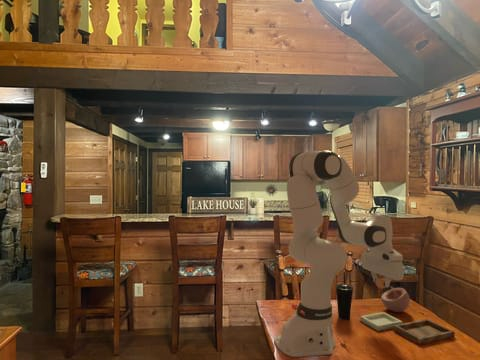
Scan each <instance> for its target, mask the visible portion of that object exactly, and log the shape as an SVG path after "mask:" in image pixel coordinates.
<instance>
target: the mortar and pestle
mask: <svg viewBox="0 0 480 360" xmlns="http://www.w3.org/2000/svg"><path fill="white" fill-rule="evenodd" d="M389 287H390V289H389V290H386V291H385V292H384V293H382V294H381V297H380V299H381V302H382V304H383V306H384V307H385V308H386V309H387V310H389V311H391V312H393V313H402V312H404V311H406V310H407V309H408V307H409V306H410V300H411V299H410V295H409V293H408V292H407V290H406V289H405V288H402V287H393V286H389Z"/></svg>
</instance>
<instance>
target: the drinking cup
mask: <svg viewBox="0 0 480 360" xmlns="http://www.w3.org/2000/svg"><path fill="white" fill-rule="evenodd" d="M335 289H336V305H337V315H338V318H339V319H341V320H343V321H347V320H348V321H349V320H350V319H351V314H352V313H351V311H352V302H353V292H354V286H352V285H350V284H349V283H346V272H345V271H344V272H343V283H338V284H335Z"/></svg>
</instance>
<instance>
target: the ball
mask: <svg viewBox="0 0 480 360" xmlns="http://www.w3.org/2000/svg"><path fill="white" fill-rule="evenodd" d="M385 281H386V279H385V277H378V279H377V280H376V283H375V285H376V287H378V288H379V289H385V288H386V287H385V286H384V284H383V282H385Z"/></svg>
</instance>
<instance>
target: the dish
mask: <svg viewBox="0 0 480 360" xmlns="http://www.w3.org/2000/svg"><path fill="white" fill-rule="evenodd" d="M393 331H394V332H396V333H397V334H400V335H401V336H403V337H404V338H406V339H408V340H410V341H412V342H413V343H415V344H417V345H418V346H422V345H427V344H432V343H435V342H439V341H440V342H441V341H445V340H448V339H449V338H450V339H454V338H455V337H456V336H455V335H456V334H455V331H454V330H452V329H450V328H447V327H445V326H443V325H441V324H439V323H438V322H437V323H436V322H435V321H433V320H430V319H429V318H426V319H420V320H415V321H414V320H413V321H409V322H404V323H402V324H398V325H394V328H393ZM450 339H449V340H450Z"/></svg>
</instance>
